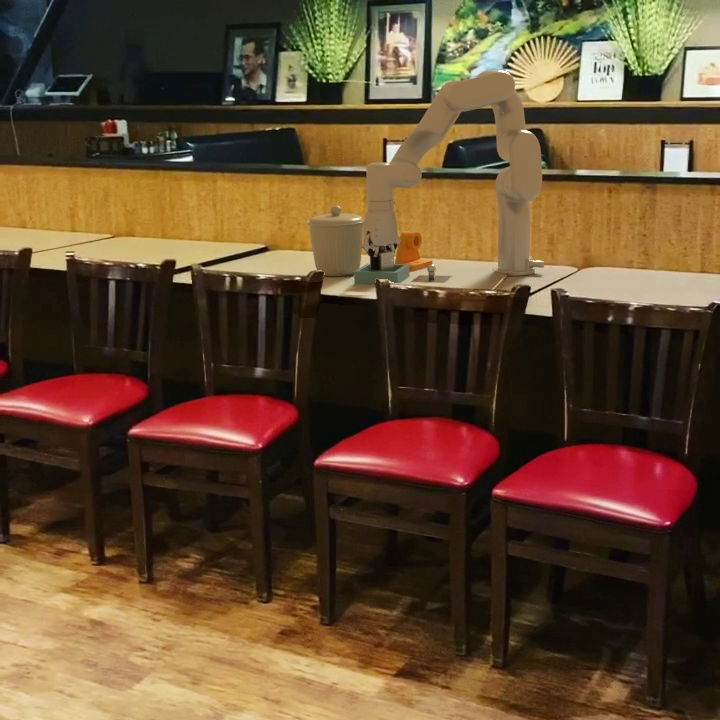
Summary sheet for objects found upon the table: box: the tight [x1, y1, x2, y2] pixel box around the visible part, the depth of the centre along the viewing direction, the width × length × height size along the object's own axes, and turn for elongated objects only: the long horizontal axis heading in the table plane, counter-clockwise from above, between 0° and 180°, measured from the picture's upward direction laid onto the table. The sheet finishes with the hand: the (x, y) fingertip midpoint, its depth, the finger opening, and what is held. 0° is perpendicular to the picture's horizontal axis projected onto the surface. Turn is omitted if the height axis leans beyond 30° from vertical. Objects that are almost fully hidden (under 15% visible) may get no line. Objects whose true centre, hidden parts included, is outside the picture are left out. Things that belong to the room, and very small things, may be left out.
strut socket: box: [370, 245, 395, 271], centre depth 306 cm, size 5×5×8 cm
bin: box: [353, 263, 411, 285], centre depth 308 cm, size 13×13×4 cm
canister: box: [306, 205, 364, 277], centre depth 322 cm, size 18×18×21 cm
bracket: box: [394, 230, 434, 272], centre depth 325 cm, size 11×7×12 cm, turn 142°
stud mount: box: [410, 264, 453, 284], centre depth 307 cm, size 10×10×5 cm
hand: (382, 267), depth 307 cm, fingers closed on strut socket, 5 cm apart
